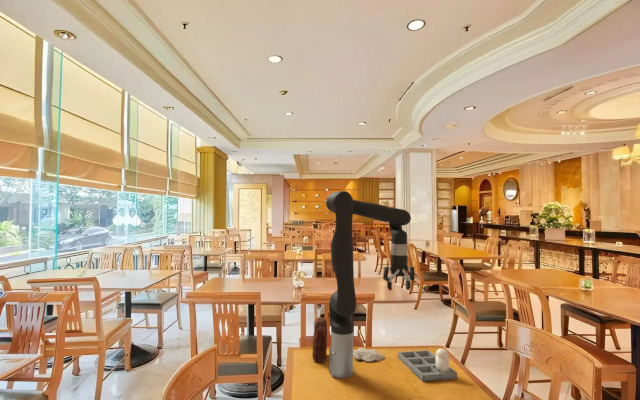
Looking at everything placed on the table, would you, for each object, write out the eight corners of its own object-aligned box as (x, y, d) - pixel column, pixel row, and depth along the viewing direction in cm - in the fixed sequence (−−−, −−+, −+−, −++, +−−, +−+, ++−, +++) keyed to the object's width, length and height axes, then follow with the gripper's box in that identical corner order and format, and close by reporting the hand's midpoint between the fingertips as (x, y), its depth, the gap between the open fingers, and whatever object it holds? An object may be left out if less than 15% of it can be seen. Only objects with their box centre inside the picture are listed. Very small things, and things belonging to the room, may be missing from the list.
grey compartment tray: (422, 381, 132) (422, 375, 133) (398, 357, 154) (398, 352, 155) (456, 378, 135) (456, 372, 136) (428, 355, 157) (428, 350, 158)
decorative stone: (354, 364, 148) (387, 366, 150) (355, 356, 148) (388, 358, 150) (349, 350, 159) (380, 352, 161) (351, 343, 159) (381, 345, 161)
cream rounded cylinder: (439, 376, 135) (439, 351, 136) (433, 371, 140) (433, 346, 141) (451, 376, 136) (451, 350, 137) (444, 370, 141) (444, 346, 142)
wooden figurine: (312, 352, 159) (312, 314, 159) (325, 352, 159) (326, 314, 160) (312, 363, 147) (313, 322, 148) (327, 363, 147) (328, 322, 148)
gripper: (387, 254, 147) (387, 292, 146) (417, 254, 150) (417, 291, 149) (381, 252, 154) (380, 288, 154) (409, 252, 157) (409, 287, 156)
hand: (398, 289), depth 151 cm, fingers open, 8 cm apart
